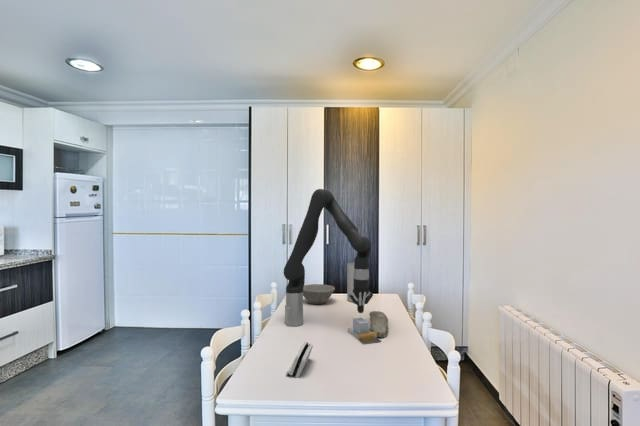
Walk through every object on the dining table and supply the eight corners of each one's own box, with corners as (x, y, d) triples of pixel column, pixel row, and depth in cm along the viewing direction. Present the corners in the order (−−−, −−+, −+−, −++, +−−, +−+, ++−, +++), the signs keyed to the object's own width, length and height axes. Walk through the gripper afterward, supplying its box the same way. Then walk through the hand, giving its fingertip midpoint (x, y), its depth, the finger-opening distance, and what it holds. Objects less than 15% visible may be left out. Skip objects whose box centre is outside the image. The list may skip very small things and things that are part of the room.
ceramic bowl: (296, 299, 234) (296, 285, 234) (328, 297, 241) (328, 283, 241) (304, 308, 213) (304, 292, 213) (339, 305, 220) (339, 290, 220)
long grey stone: (368, 339, 164) (389, 342, 163) (368, 329, 164) (390, 331, 163) (369, 314, 199) (386, 316, 197) (369, 305, 199) (387, 307, 197)
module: (359, 338, 164) (359, 323, 164) (353, 332, 172) (353, 318, 172) (368, 336, 166) (368, 322, 166) (361, 331, 173) (361, 317, 173)
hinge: (296, 357, 142) (304, 335, 141) (307, 362, 141) (315, 340, 141) (285, 376, 126) (293, 352, 125) (296, 382, 125) (305, 357, 124)
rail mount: (363, 344, 156) (363, 338, 156) (347, 331, 173) (347, 325, 173) (380, 342, 159) (381, 335, 159) (363, 329, 176) (363, 323, 176)
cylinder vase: (368, 299, 235) (368, 263, 235) (360, 303, 224) (361, 265, 224) (352, 297, 241) (352, 261, 241) (344, 301, 231) (344, 264, 231)
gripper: (351, 279, 163) (351, 316, 163) (376, 278, 167) (376, 313, 167) (345, 276, 170) (345, 311, 170) (369, 275, 174) (369, 309, 175)
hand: (360, 312), depth 169 cm, fingers closed
